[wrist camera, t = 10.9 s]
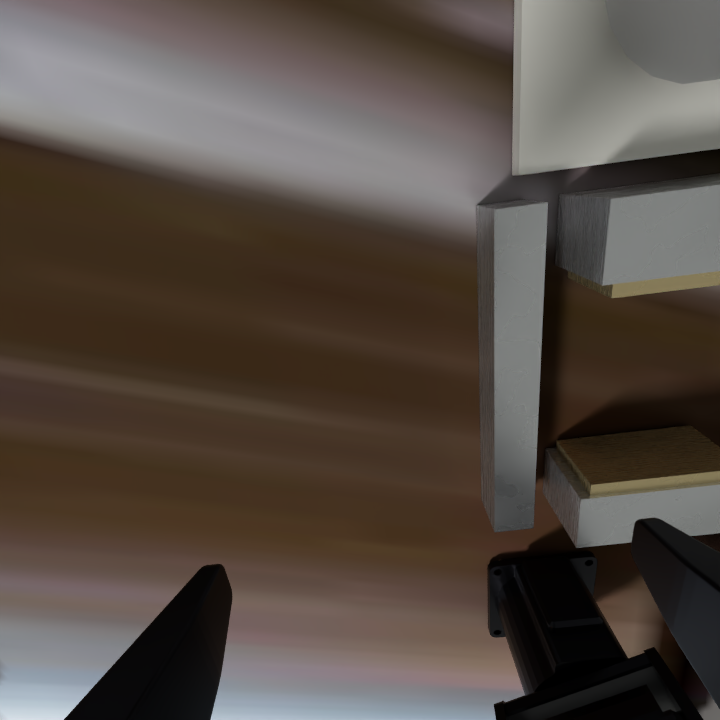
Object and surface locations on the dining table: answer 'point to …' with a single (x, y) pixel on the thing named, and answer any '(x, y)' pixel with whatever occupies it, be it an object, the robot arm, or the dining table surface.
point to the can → (669, 37)
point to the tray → (596, 95)
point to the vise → (523, 358)
